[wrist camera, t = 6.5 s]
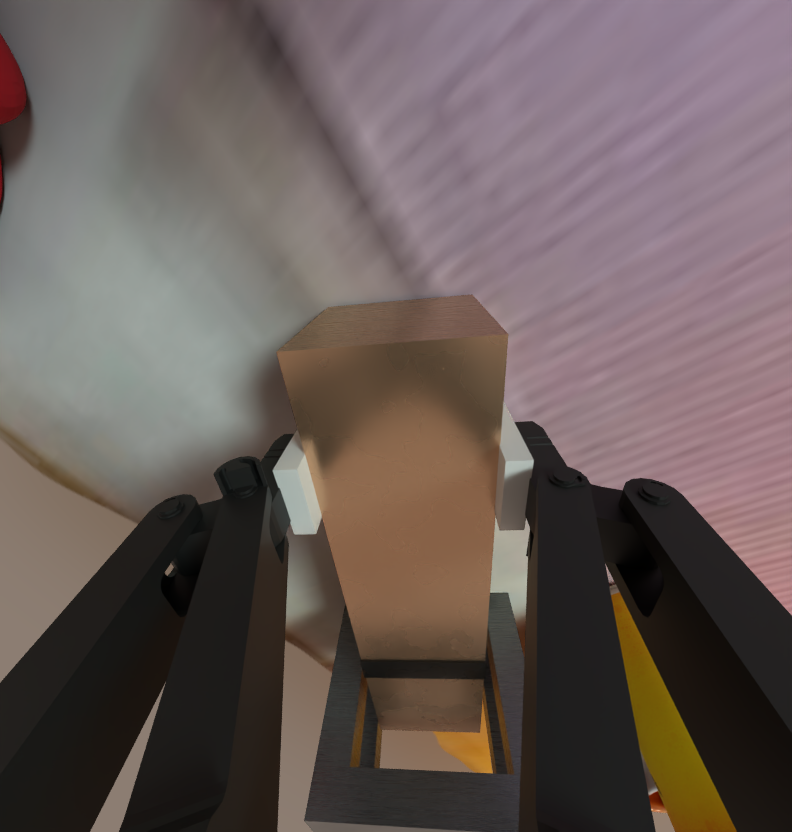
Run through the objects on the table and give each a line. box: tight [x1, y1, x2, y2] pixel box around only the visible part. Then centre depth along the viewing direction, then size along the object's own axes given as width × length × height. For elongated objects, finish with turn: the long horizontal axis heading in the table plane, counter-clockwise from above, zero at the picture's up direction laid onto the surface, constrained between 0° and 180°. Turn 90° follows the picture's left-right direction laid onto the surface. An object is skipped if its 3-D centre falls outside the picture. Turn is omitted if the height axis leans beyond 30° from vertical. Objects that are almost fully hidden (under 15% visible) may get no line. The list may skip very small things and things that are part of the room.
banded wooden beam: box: [276, 295, 508, 733], centre depth 17 cm, size 24×6×6 cm, turn 5°
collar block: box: [304, 593, 524, 832], centre depth 22 cm, size 10×12×11 cm
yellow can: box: [609, 584, 737, 832], centre depth 17 cm, size 6×6×15 cm
